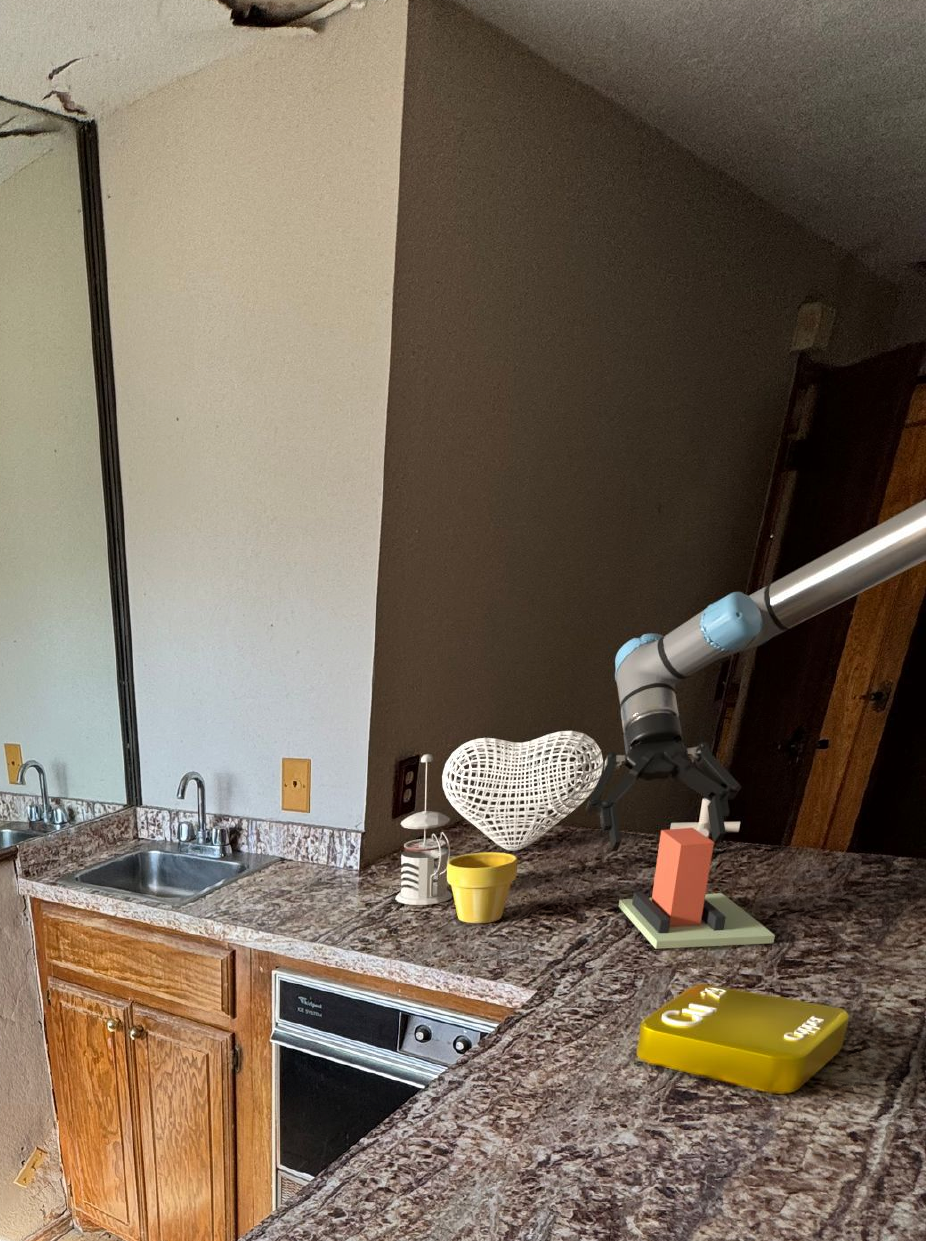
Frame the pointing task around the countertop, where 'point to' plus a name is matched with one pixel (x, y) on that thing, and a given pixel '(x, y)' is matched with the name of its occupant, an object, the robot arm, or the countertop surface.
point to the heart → (530, 745)
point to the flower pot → (481, 884)
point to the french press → (425, 859)
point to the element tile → (743, 1037)
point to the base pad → (717, 925)
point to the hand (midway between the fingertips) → (667, 842)
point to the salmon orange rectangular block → (682, 875)
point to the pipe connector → (705, 822)
